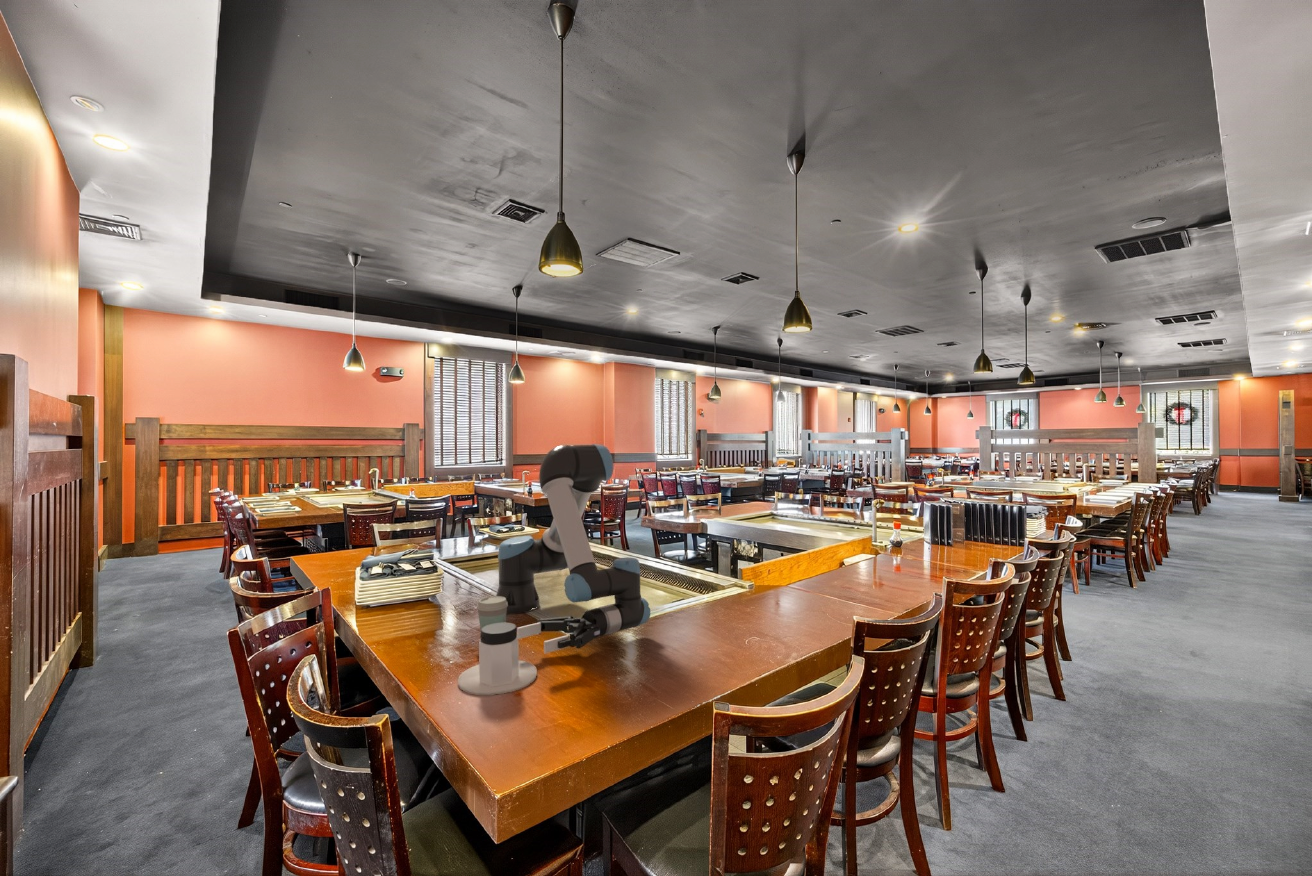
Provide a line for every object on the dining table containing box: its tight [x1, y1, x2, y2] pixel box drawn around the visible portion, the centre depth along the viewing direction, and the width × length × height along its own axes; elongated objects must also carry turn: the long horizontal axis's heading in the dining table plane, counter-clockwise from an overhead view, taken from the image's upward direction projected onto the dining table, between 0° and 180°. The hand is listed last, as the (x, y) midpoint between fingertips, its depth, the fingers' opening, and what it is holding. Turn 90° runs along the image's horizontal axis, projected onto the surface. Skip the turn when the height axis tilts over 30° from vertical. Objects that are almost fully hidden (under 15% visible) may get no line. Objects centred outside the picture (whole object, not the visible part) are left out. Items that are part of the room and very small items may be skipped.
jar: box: [478, 622, 520, 687], centre depth 133 cm, size 9×8×12 cm
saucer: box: [457, 659, 538, 696], centre depth 135 cm, size 18×18×1 cm
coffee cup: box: [476, 595, 508, 631], centre depth 160 cm, size 9×8×12 cm
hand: (530, 640), depth 141 cm, fingers open, 13 cm apart
